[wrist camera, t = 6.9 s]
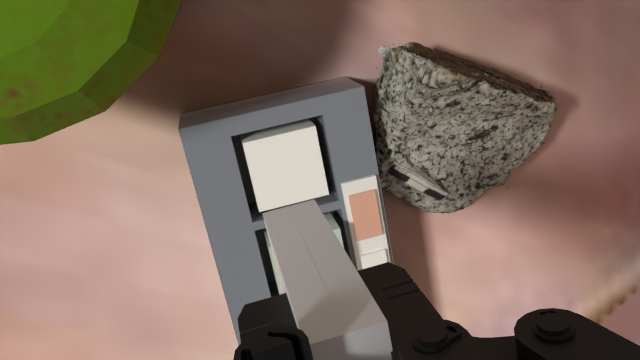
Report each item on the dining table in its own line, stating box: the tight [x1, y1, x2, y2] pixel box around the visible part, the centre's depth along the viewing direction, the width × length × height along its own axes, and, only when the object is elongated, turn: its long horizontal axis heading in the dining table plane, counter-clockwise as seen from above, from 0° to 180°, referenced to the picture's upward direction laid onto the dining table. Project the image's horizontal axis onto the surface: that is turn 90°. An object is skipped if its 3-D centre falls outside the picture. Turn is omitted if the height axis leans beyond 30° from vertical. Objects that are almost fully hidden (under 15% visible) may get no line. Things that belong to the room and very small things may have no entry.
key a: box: [240, 118, 329, 212], centre depth 27 cm, size 3×3×2 cm
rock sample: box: [369, 40, 558, 224], centre depth 28 cm, size 10×8×9 cm
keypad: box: [179, 77, 394, 345], centre depth 29 cm, size 14×8×4 cm, turn 11°
